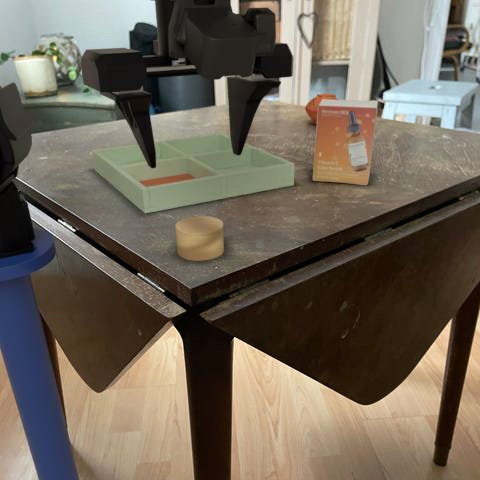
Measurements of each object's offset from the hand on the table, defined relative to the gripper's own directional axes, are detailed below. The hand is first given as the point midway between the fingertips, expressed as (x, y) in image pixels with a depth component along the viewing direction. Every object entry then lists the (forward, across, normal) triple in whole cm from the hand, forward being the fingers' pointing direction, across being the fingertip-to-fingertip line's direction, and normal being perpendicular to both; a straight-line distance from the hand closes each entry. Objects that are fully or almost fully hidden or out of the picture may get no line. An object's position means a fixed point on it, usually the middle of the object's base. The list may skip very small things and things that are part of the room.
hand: (196, 160), depth 53 cm
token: (+10, 0, 0) cm, 10 cm away
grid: (+10, +10, +24) cm, 28 cm away
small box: (+10, +29, +12) cm, 33 cm away
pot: (+10, +48, +42) cm, 65 cm away
